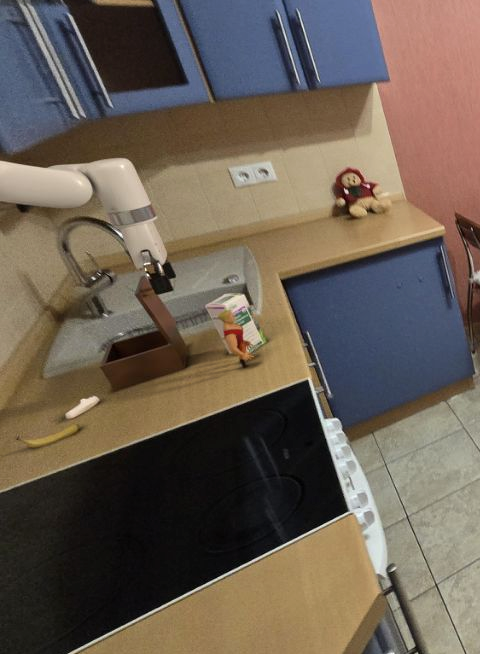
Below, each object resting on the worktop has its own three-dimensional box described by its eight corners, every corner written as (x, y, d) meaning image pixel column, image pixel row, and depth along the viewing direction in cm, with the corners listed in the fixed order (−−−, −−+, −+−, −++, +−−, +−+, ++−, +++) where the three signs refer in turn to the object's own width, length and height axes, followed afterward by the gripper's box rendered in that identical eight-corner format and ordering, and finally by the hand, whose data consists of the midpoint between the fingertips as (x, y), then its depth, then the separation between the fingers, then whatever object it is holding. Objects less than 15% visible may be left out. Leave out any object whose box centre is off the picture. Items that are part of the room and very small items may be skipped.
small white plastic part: (66, 415, 113) (58, 404, 112) (103, 402, 116) (96, 391, 115) (64, 424, 111) (55, 412, 109) (102, 410, 114) (94, 399, 113)
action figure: (259, 371, 123) (233, 315, 117) (241, 377, 121) (213, 321, 115) (258, 353, 130) (234, 300, 124) (241, 359, 129) (215, 305, 122)
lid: (134, 294, 116) (163, 285, 119) (140, 276, 125) (167, 268, 128) (168, 343, 122) (195, 334, 125) (172, 323, 132) (197, 314, 134)
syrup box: (249, 356, 130) (225, 304, 123) (229, 355, 131) (203, 304, 124) (267, 343, 135) (245, 292, 128) (247, 343, 136) (224, 292, 129)
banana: (25, 456, 102) (13, 440, 101) (26, 451, 103) (15, 435, 102) (83, 434, 107) (72, 418, 105) (83, 430, 108) (73, 414, 107)
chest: (116, 393, 119) (99, 366, 116) (123, 368, 129) (108, 343, 126) (185, 370, 126) (171, 344, 123) (187, 348, 135) (175, 324, 132)
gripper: (116, 211, 121) (149, 279, 128) (103, 229, 108) (141, 303, 115) (158, 204, 125) (188, 270, 132) (151, 220, 112) (185, 293, 119)
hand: (166, 285), depth 124 cm, fingers open, 9 cm apart
